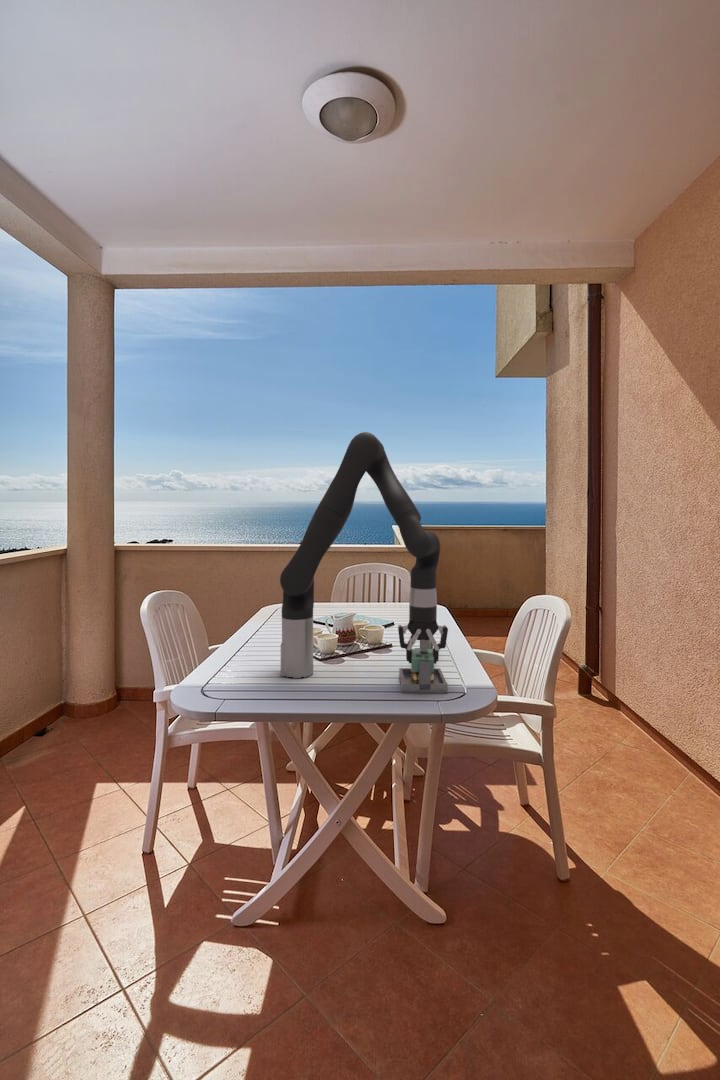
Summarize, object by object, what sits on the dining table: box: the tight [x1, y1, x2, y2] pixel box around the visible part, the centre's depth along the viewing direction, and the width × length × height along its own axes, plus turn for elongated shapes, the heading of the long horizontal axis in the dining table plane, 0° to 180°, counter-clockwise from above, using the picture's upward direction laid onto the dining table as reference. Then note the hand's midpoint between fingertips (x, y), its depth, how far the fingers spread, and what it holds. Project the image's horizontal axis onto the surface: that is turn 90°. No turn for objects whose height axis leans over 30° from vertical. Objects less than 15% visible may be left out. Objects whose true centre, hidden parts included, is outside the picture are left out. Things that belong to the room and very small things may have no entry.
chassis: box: [398, 647, 448, 695], centre depth 140 cm, size 12×13×8 cm
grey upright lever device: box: [419, 639, 434, 650], centre depth 166 cm, size 14×6×25 cm
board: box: [410, 648, 435, 672], centre depth 140 cm, size 6×10×4 cm, turn 174°
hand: (422, 662), depth 140 cm, fingers closed on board, 6 cm apart
